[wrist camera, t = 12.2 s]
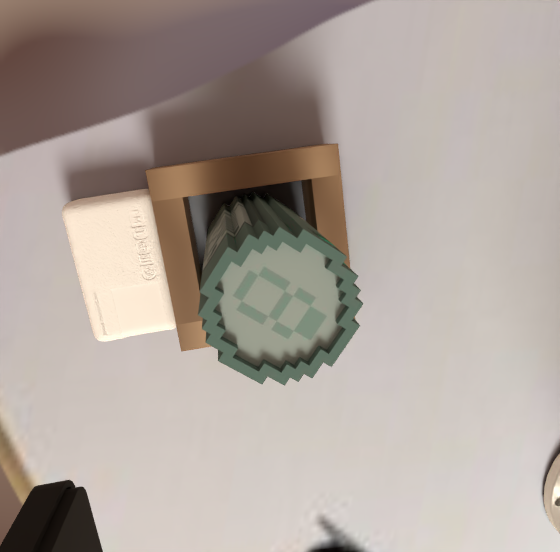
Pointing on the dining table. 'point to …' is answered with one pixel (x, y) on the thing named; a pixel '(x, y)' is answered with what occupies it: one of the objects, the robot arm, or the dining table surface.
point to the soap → (119, 264)
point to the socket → (231, 176)
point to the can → (274, 292)
